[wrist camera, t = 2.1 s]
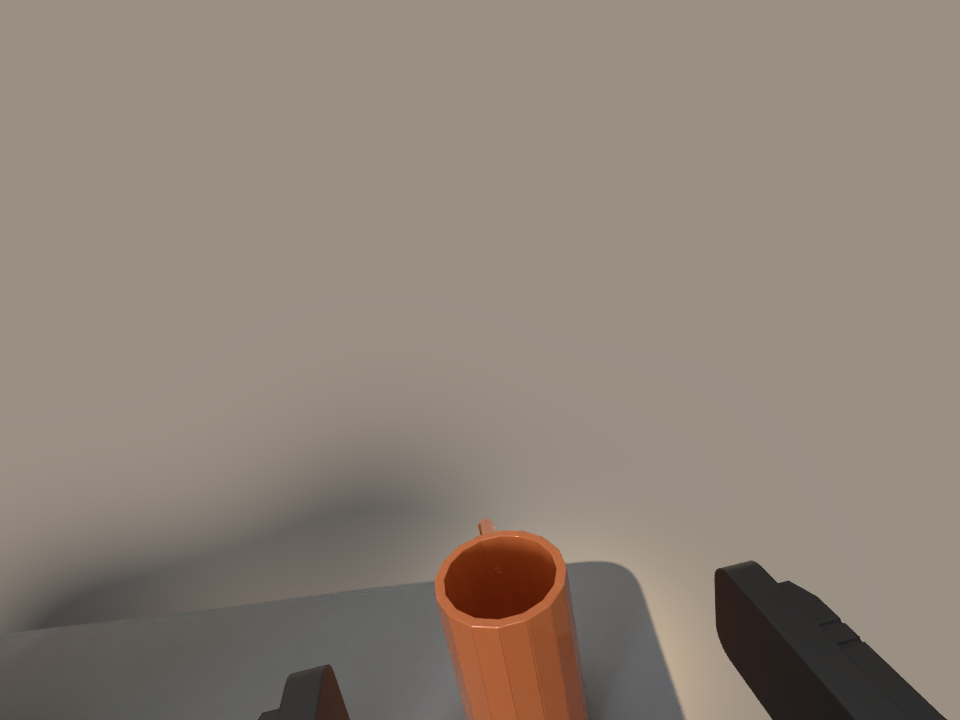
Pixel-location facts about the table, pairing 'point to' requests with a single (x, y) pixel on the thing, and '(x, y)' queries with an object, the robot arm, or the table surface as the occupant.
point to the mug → (511, 628)
